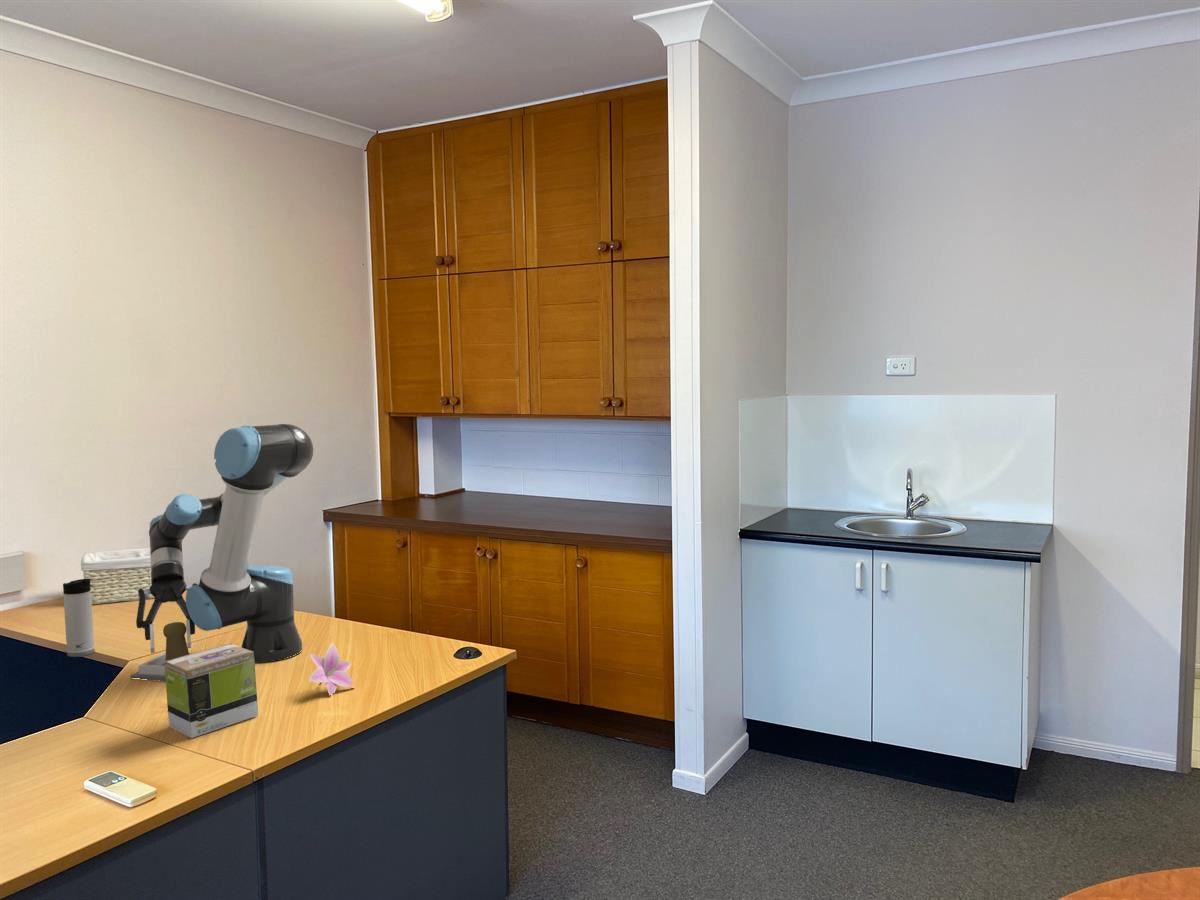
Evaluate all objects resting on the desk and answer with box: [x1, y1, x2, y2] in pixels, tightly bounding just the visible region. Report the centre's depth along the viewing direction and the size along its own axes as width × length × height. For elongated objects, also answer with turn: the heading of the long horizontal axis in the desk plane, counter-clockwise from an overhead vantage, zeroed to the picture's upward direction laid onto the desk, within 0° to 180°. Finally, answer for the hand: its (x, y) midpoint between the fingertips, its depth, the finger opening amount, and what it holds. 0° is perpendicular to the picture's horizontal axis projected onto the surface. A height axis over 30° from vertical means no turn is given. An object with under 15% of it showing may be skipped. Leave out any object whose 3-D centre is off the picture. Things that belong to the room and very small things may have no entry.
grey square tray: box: [130, 652, 193, 682], centre depth 220 cm, size 13×13×3 cm
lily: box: [308, 642, 355, 696], centre depth 207 cm, size 12×12×10 cm
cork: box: [162, 621, 190, 661], centre depth 220 cm, size 6×6×11 cm
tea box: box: [165, 642, 259, 739], centre depth 188 cm, size 15×10×15 cm, turn 141°
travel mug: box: [62, 578, 96, 658], centre depth 233 cm, size 6×7×20 cm
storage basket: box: [80, 547, 155, 605], centre depth 291 cm, size 24×16×15 cm
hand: (171, 647), depth 216 cm, fingers open, 7 cm apart
